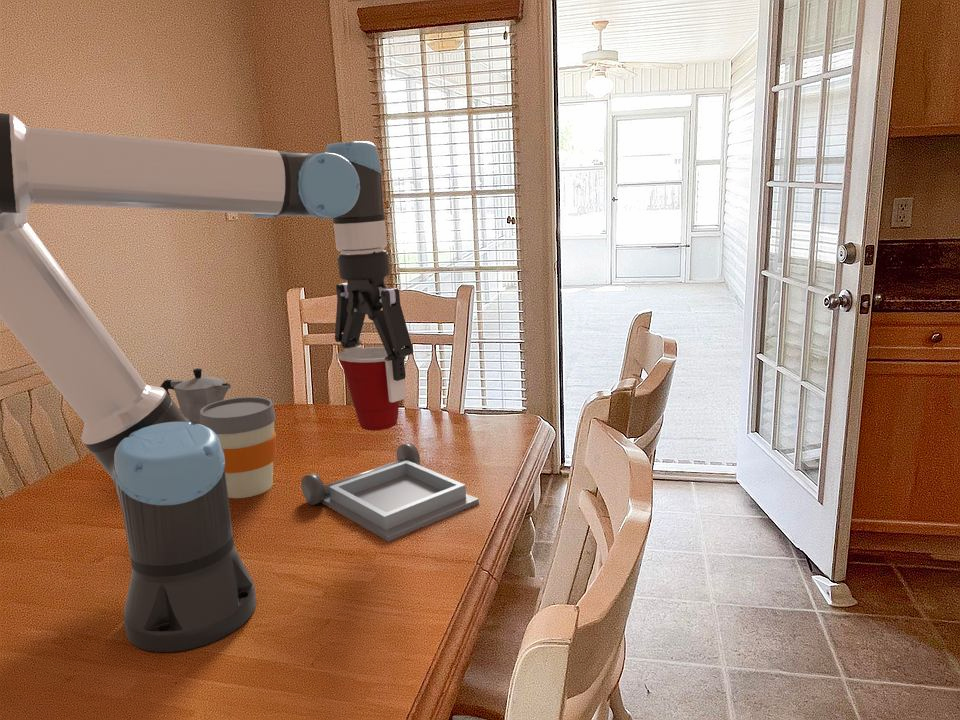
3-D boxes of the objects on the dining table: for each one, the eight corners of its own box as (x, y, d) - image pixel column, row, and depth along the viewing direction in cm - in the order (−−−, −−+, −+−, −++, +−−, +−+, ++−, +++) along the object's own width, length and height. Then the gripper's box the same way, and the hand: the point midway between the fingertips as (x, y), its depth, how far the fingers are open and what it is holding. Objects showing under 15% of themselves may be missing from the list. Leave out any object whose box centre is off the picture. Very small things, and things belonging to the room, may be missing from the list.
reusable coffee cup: (296, 485, 127) (288, 404, 124) (231, 509, 119) (220, 423, 115) (259, 468, 136) (250, 392, 132) (196, 490, 127) (184, 409, 123)
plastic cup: (428, 418, 114) (422, 345, 111) (383, 440, 106) (375, 362, 103) (376, 409, 120) (369, 340, 117) (330, 430, 111) (321, 355, 108)
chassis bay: (379, 545, 105) (376, 514, 103) (302, 500, 121) (300, 472, 120) (486, 500, 118) (484, 472, 117) (404, 464, 135) (402, 439, 134)
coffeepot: (250, 448, 147) (240, 363, 143) (226, 465, 138) (215, 375, 134) (182, 445, 150) (170, 362, 146) (155, 462, 141) (141, 374, 137)
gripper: (430, 250, 100) (442, 401, 105) (343, 245, 117) (357, 375, 122) (385, 257, 95) (400, 414, 101) (302, 250, 112) (318, 385, 118)
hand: (376, 393), depth 112 cm, fingers closed on plastic cup, 11 cm apart
